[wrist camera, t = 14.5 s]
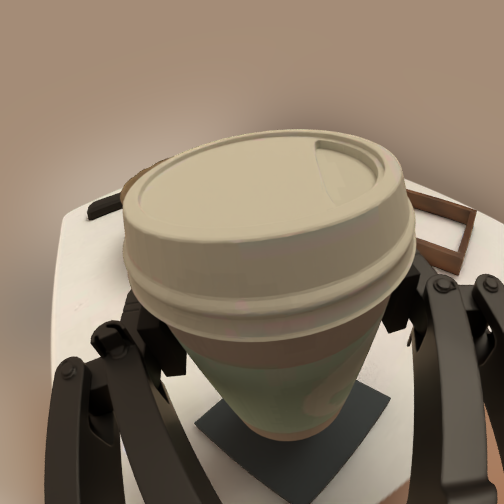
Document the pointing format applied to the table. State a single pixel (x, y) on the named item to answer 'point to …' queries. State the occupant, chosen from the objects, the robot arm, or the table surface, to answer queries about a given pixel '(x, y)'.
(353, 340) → the coffee cup
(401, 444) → the table surface
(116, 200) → the remote control
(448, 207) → the wooden square frame
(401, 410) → the table surface
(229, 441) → the felt mat
